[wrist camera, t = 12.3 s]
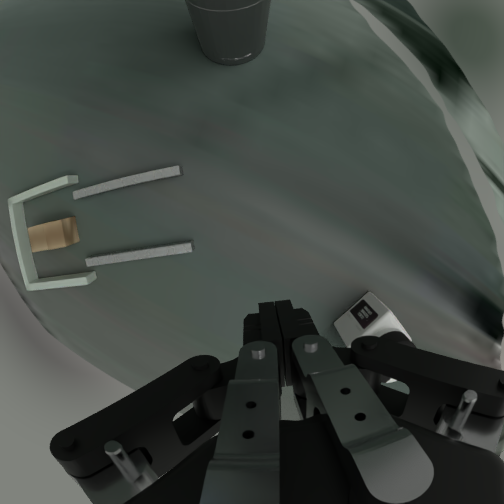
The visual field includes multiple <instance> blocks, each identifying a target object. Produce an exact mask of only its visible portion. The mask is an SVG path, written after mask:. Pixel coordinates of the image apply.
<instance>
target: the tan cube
mask: <svg viewBox="0 0 504 504" xmlns="http://www.w3.org/2000/svg"><path fill="white" fill-rule="evenodd" d="M43 226H44V231H45V237H46V242H47V246H48V250H51V249H56V248H61V247H66V246H69V245H71V244H74V243H76V242H79V236H78V231H77V225H76V219H75V216H74V217H70V218H65V219H61V220H58V221H54V222H50V223H47V224H43Z"/></svg>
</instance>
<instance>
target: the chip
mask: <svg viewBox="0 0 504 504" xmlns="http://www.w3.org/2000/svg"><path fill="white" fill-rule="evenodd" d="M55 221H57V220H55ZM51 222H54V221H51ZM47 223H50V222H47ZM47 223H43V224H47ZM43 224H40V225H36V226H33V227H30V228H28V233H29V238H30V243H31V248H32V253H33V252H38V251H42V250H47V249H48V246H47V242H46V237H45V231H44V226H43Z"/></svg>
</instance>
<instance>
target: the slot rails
mask: <svg viewBox="0 0 504 504" xmlns="http://www.w3.org/2000/svg"><path fill="white" fill-rule="evenodd" d="M181 175H183V168H182V166H179V165H178V166H173V167H168V168H163V169H159V170H154V171H149V172H145V173H140V174H136V175H132V176H128V177H124V178H120V179H116V180H112V181H108V182H105V183H101V184H97V185H94V186H90V187H87V188H83V189H80V190H77V191H73V198H74V200H75V199H81V198H85V197H89V196H92V195H96V194H100V193H104V192H108V191H112V190H116V189H120V188H124V187H128V186H132V185H137V184H141V183H146V182H151V181H155V180H160V179H165V178H170V177H175V176H181ZM194 249H195V246H194V240H190V241H183V242H176V243H169V244H163V245H156V246H149V247H143V248H136V249H130V250H124V251H117V252H111V253H105V254H99V255H93V256H90V257H88V258H86V259H85V261H86V265H87V267H88V266H95V265H102V264H109V263H116V262H123V261H130V260H137V259H144V258H151V257H159V256H166V255H173V254H180V253H188V252H193V250H194Z"/></svg>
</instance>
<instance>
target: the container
mask: <svg viewBox="0 0 504 504" xmlns="http://www.w3.org/2000/svg"><path fill="white" fill-rule="evenodd" d="M334 326H335V328H336V330H337V331H338V333H339V335H340V336H341V338H342V340H343V341H344V343H345V345H346V347H347V348H351V343H352V341H353V340H354V339H356V338H358V337H361V336H368V335H370V336H377V337H380V338H384V339H387V340H390V341H394V342H397V343H400V344H404V345H407V346H410V347H414V348H416V346H415V345H414V344H413V343H412V342H411V341H412V339H411V338H410V336H409V335H408V333H407V332H406V331H405V329H404V328H403V326H402V325H401V324H400V322H399V321H398V319H397V318H396V317H395V315H394V314H393V313H392V311H391V310H390V309H389V308H388V307H387V306H386V305H384V304H383V303H382V302H381V301H380V300H379V299H378V298H377V297H376V296H375V295H374V294H373V293H371V292H367V293H366V294H365V295H364V296H363V297H362V298H361V299H360V300H359V301H358V302H357V303H356V304H354V305H353V306H352V307H351V308H350V309H349V310H348V311H347V312H346V313H344V314H343V315H342V316H341V317H340V318H339V319H338V320H336V321H335V322H334ZM394 381H397V380H395V379H392V378H389V377H387V376H384V375H382V380H381V382H383V383H389V382H394Z"/></svg>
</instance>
